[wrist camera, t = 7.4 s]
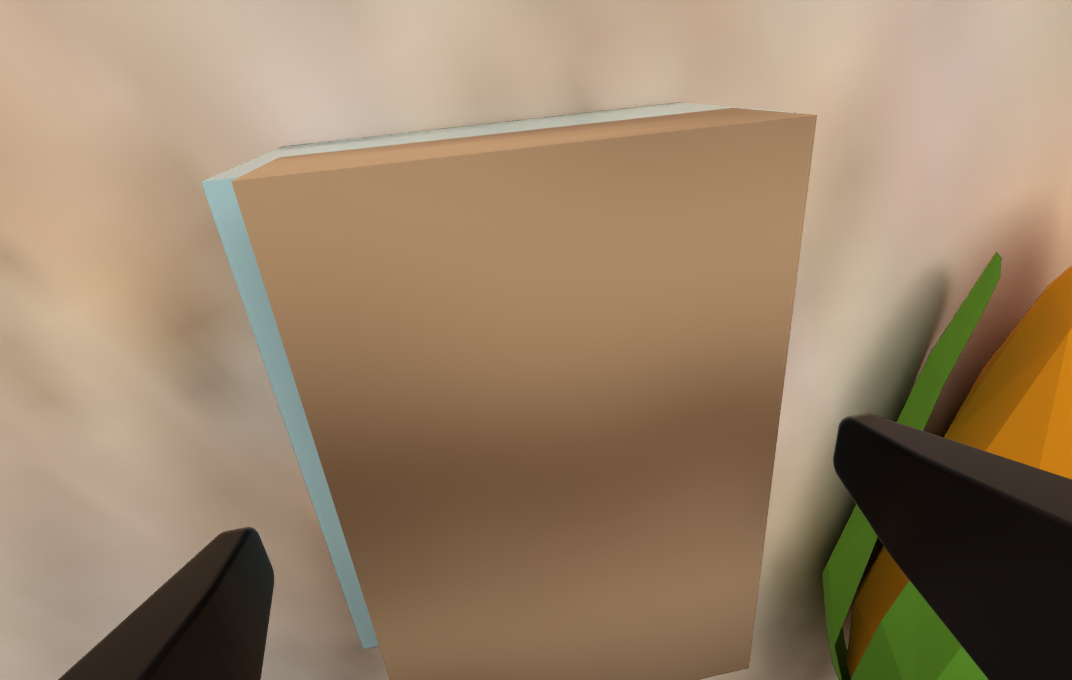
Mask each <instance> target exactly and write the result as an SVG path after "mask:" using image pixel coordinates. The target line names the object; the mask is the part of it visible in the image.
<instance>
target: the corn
mask: <svg viewBox="0 0 1072 680" xmlns="http://www.w3.org/2000/svg"><path fill="white" fill-rule="evenodd" d="M1000 270H1001V257H1000V255H999V254H998V253H997V252H996V253H995V255H994V256H993V258H992V260H991V261H990V263H989V264H988V266H987V267H986V269H985V270H984V272H983V273H982V275H981V276H980V278H979V279H978V281H977V282H976V284H975V285H974V287H973V288H972V290H971V292H970V293H969V295H968V296H967V298H966V299H965V301H964V302H963V304H962V305H961V307H960V308H959V310H958V311H957V313H956V314H955V316H954V317H953V319H952V320H951V322H950V324H949V325H948V327H947V328H946V330H945V331H944V333H943V334H942V336H941V337H940V339H939V340H938V342H937V343H936V345H935V346H934V348H933V349H932V351H931V353H930V355H929V357H928V359H927V361H926V363H925V365H924V367H923V369H922V371H921V373H920V375H919V377H918V379H917V381H916V383H915V385H914V387H913V389H912V391H911V393H910V395H909V397H908V399H907V401H906V403H905V406H904V408H903V410H902V412H901V414H900V416H899V418H898V420H897V423H901V424H904V425H907V426H910V427H913V428H916V429H919V430H922V431H923V430H924V428H925V426H926V423H927V421H928V419H929V417H930V415H931V412H932V410H933V408H934V406H935V403H936V401H937V399H938V397H939V394H940V392H941V390H942V388H943V386H944V384H945V382H946V380H947V378H948V376H949V374H950V372H951V371H952V369H953V367H954V365H955V363H956V361H957V360H958V358H959V356H960V354H961V352H962V350H963V348H964V347H965V345H966V343H967V341H968V339H969V337H970V336H971V334H972V332H973V330H974V328H975V326H976V324H977V323H978V321H979V319H980V317H981V315H982V313H983V311H984V309H985V307H986V305H987V303H988V301H989V299H990V297H991V295H992V293H993V291H994V289H995V286H996V284H997V282H998V280H999V278H1000ZM944 438H947V439H950V440H953V441H956V442H959V443H962V444H965V445H968V446H971V447H974V448H977V449H980V450H983V451H986V452H990V453H993V454H996V455H999V456H1002V457H1005V458H1008V459H1011V460H1014V461H1017V462H1020V463H1023V464H1026V465H1029V466H1032V467H1036V468H1039V469H1042V470H1045V471H1048V472H1051V473H1054V474H1057V475H1060V476H1063V477H1066V478H1069V479H1072V266H1071V267H1069V268H1068V269H1067V270H1066V271H1065V272H1064V273H1062V274H1061V275H1060V276H1059V277H1058V278H1057V279H1056V280H1054V281H1053V282H1052V283H1051V284H1050V285H1049V286H1048V287H1047V288H1046V289H1045V290H1044V292H1043V293H1042V294H1041V295H1040V297H1039V298H1038V299H1037V300H1036V302H1035V303H1034V304H1033V306H1032V307H1031V308H1030V309H1029V311H1028V312H1027V313H1026V314H1025V316H1024V317H1023V318H1022V319H1021V321H1020V322H1019V323H1018V324H1017V326H1016V327H1015V328H1014V329H1013V331H1012V332H1011V333H1010V335H1009V336H1008V337H1007V338H1006V340H1005V341H1004V342H1003V343H1002V345H1001V346H1000V347H999V348H998V350H997V351H996V352H995V353H994V355H993V356H992V357H991V359H990V360H989V361H988V362H987V364H986V365H985V366H984V367H983V369H982V371H981V373H980V374H979V376H978V378H977V380H976V381H975V383H974V385H973V387H972V388H971V390H970V392H969V394H968V395H967V397H966V399H965V401H964V402H963V404H962V406H961V408H960V410H959V411H958V413H957V415H956V417H955V418H954V420H953V422H952V424H951V425H950V427H949V429H948V431H947V432H946V434H945V436H944ZM877 537H878V536H877V535H876V533H875V532H874V530H873V529H872V527H871V526H870V524H869V523H868V521H867V520H866V518H865V516H864V515H863V513H862V512H861V510H860V509H859V507H858V506H857V504H856V505H855V508H854V510H853V512H852V514H851V516H850V518H849V520H848V522H847V524H846V526H845V528H844V530H843V532H842V534H841V536H840V538H839V540H838V542H837V544H836V546H835V548H834V550H833V552H832V554H831V556H830V559H829V561H828V563H827V565H826V567H825V569H824V571H823V573H822V577H823V591H824V604H825V617H826V630H827V636H828V642H829V647H830V653H831V659H832V664H833V666H834V669H835V671H836V674H837V676H838V679H839V680H988V679H987V677H986V676H985V675H984V674H983V672H982V671H981V670H980V669H979V667H978V666H977V665H976V664H975V662H974V661H973V660H972V659H971V657H970V656H969V655H968V654H967V652H966V651H965V650H964V648H963V647H962V646H961V645H960V643H959V642H958V641H957V640H956V638H955V637H954V636H953V635H952V633H951V632H950V631H949V630H948V628H947V627H946V626H945V625H944V623H943V622H942V621H941V620H940V618H939V617H938V616H937V614H936V613H935V612H934V611H933V609H932V608H931V607H930V606H929V604H928V603H927V602H926V601H925V599H924V598H923V597H922V596H921V594H920V593H919V592H918V591H917V589H916V588H915V587H914V585H913V584H912V583H911V582H910V580H909V579H908V578H907V577H906V575H905V574H904V573H903V572H902V570H901V569H900V568H899V566H898V565H897V564H896V562H895V561H894V560H893V558H892V557H891V556H890V554H889V553H888V551H887V550H886V548H885V547H884V545H883V547H882V549H881V551H880V552H879V554H878V556H877V558H876V560H875V561H874V563H873V565H872V567H871V569H870V570H869V572H868V574H867V576H866V578H865V579H864V581H863V583H862V585H861V587H860V588H859V590H858V592H857V594H856V596H855V597H854V595H855V593H856V590H857V588H858V585H859V583H860V580H861V578H862V575H863V573H864V570H865V568H866V565H867V563H868V560H869V558H870V555H871V553H872V550H873V547H874V545H875V542H876V540H877ZM853 598H854V604H853V612H852V620H851V628H850V637H849V645H848V650H847V648H846V645H845V641H844V634H843V628H842V625H843V623H844V620H845V618H846V615H847V613H848V610H849V608H850V605H851V603H852V600H853Z"/></svg>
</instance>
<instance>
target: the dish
mask: <svg viewBox="0 0 1072 680" xmlns="http://www.w3.org/2000/svg"><path fill="white" fill-rule="evenodd" d="M727 108H739V107H727V106H716V105H704V104H692V103H681V102H678V103H669V104H660V105H651V106H642V107H633V108H624V109H615V110H606V111H597V112H588V113H579V114H570V115H561V116H552V117H543V118H534V119H525V120H516V121H507V122H498V123H489V124H480V125H471V126H462V127H453V128H444V129H435V130H426V131H417V132H408V133H399V134H390V135H381V136H372V137H364V138H355V139H346V140H337V141H328V142H319V143H310V144H301V145H292V146H283V147H280V148H278V149H276V150H273V151H271V152H269V153H266V154H264V155H262V156H259V157H257V158H255V159H252V160H250V161H248V162H245V163H243V164H241V165H239V166H236V167H234V168H232V169H229V170H227V171H225V172H222V173H220V174H218V175H215V176H213V177H211V178H208V179H206V180H204V181H202V182H201V183H202V186H203V189H204V191H205V194H206V197H207V200H208V203H209V206H210V209H211V212H212V215H213V217H214V220H215V223H216V226H217V229H218V232H219V235H220V238H221V241H222V243H223V246H224V249H225V252H226V255H227V258H228V261H229V264H230V267H231V269H232V272H233V275H234V278H235V281H236V284H237V287H238V290H239V293H240V295H241V298H242V301H243V304H244V307H245V310H246V313H247V316H248V319H249V321H250V324H251V327H252V330H253V333H254V336H255V339H256V342H257V345H258V347H259V350H260V353H261V356H262V359H263V362H264V365H265V368H266V371H267V373H268V376H269V379H270V382H271V385H272V388H273V391H274V394H275V397H276V399H277V402H278V405H279V408H280V411H281V414H282V417H283V420H284V423H285V425H286V428H287V431H288V434H289V437H290V440H291V443H292V446H293V449H294V451H295V454H296V457H297V460H298V463H299V466H300V469H301V472H302V475H303V477H304V480H305V483H306V486H307V489H308V492H309V495H310V498H311V501H312V503H313V506H314V509H315V512H316V515H317V518H318V521H319V524H320V527H321V529H322V532H323V535H324V538H325V541H326V544H327V547H328V550H329V553H330V555H331V558H332V561H333V564H334V567H335V570H336V573H337V576H338V579H339V581H340V584H341V587H342V590H343V593H344V596H345V599H346V602H347V605H348V607H349V610H350V613H351V616H352V619H353V622H354V625H355V628H356V631H357V633H358V636H359V639H360V642H361V645H362V648H363V649H367V648H372V647H376V646H379V644H378V641H377V638H376V634H375V631H374V628H373V625H372V622H371V619H370V616H369V612H368V609H367V606H366V603H365V600H364V597H363V594H362V590H361V587H360V584H359V581H358V578H357V575H356V572H355V568H354V565H353V562H352V559H351V556H350V553H349V550H348V547H347V543H346V540H345V537H344V534H343V531H342V528H341V525H340V521H339V518H338V515H337V512H336V509H335V506H334V503H333V499H332V496H331V493H330V490H329V487H328V484H327V481H326V478H325V474H324V471H323V468H322V465H321V462H320V459H319V456H318V452H317V449H316V446H315V443H314V440H313V437H312V434H311V430H310V427H309V424H308V421H307V418H306V415H305V412H304V409H303V405H302V402H301V399H300V396H299V393H298V390H297V387H296V383H295V380H294V377H293V374H292V371H291V368H290V365H289V361H288V358H287V355H286V352H285V349H284V346H283V343H282V339H281V336H280V333H279V330H278V327H277V324H276V321H275V318H274V314H273V311H272V308H271V305H270V302H269V299H268V296H267V292H266V289H265V286H264V283H263V280H262V277H261V274H260V270H259V267H258V264H257V261H256V258H255V255H254V252H253V249H252V245H251V242H250V239H249V236H248V233H247V230H246V227H245V223H244V220H243V217H242V214H241V211H240V208H239V205H238V201H237V198H236V195H235V192H234V189H233V186H232V183H231V181H232V180H235V179H237V178H239V177H241V176H243V175H245V174H247V173H249V172H251V171H253V170H255V169H257V168H259V167H261V166H263V165H265V164H267V163H269V162H271V161H273V160H275V159H277V158H279V157H287V156H297V155H306V154H315V153H324V152H333V151H342V150H352V149H361V148H370V147H379V146H388V145H397V144H407V143H416V142H425V141H434V140H443V139H452V138H462V137H471V136H480V135H489V134H498V133H507V132H517V131H526V130H535V129H544V128H553V127H562V126H572V125H581V124H590V123H599V122H608V121H617V120H627V119H636V118H645V117H654V116H663V115H672V114H682V113H691V112H700V111H709V110H718V109H727ZM741 109H751V108H741ZM752 110H762V109H752ZM763 111H774V110H763ZM775 112H786V111H775ZM786 113H797V112H786Z"/></svg>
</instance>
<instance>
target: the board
mask: <svg viewBox="0 0 1072 680" xmlns="http://www.w3.org/2000/svg"><path fill="white" fill-rule="evenodd" d="M816 118H817V115H809V114H797V113H786V112H775V111H763V110H752V109H741V108H727V109H718V110H709V111H700V112H691V113H682V114H672V115H663V116H654V117H645V118H636V119H627V120H617V121H608V122H599V123H590V124H581V125H572V126H562V127H553V128H544V129H535V130H526V131H517V132H507V133H498V134H489V135H480V136H471V137H462V138H452V139H443V140H434V141H425V142H416V143H407V144H397V145H388V146H379V147H370V148H361V149H352V150H342V151H333V152H324V153H315V154H306V155H297V156H287V157H279V158H277V159H275V160H273V161H271V162H269V163H267V164H265V165H263V166H261V167H259V168H257V169H255V170H253V171H251V172H249V173H247V174H245V175H243V176H241V177H239V178H237V179H235V180H232V181H231V183H232V186H233V189H234V192H235V195H236V198H237V201H238V205H239V208H240V211H241V214H242V217H243V220H244V223H245V227H246V230H247V233H248V236H249V239H250V242H251V245H252V249H253V252H254V255H255V258H256V261H257V264H258V267H259V270H260V274H261V277H262V280H263V283H264V286H265V289H266V292H267V296H268V299H269V302H270V305H271V308H272V311H273V314H274V318H275V321H276V324H277V327H278V330H279V333H280V336H281V339H282V343H283V346H284V349H285V352H286V355H287V358H288V361H289V365H290V368H291V371H292V374H293V377H294V380H295V383H296V387H297V390H298V393H299V396H300V399H301V402H302V405H303V409H304V412H305V415H306V418H307V421H308V424H309V427H310V430H311V434H312V437H313V440H314V443H315V446H316V449H317V452H318V456H319V459H320V462H321V465H322V468H323V471H324V474H325V478H326V481H327V484H328V487H329V490H330V493H331V496H332V499H333V503H334V506H335V509H336V512H337V515H338V518H339V521H340V525H341V528H342V531H343V534H344V537H345V540H346V543H347V547H348V550H349V553H350V556H351V559H352V562H353V565H354V568H355V572H356V575H357V578H358V581H359V584H360V587H361V590H362V594H363V597H364V600H365V603H366V606H367V609H368V612H369V616H370V619H371V622H372V625H373V628H374V631H375V634H376V638H377V641H378V644H379V647H380V650H381V653H382V656H383V659H384V663H385V666H386V669H387V672H388V675H389V678H390V680H699V679H703V678H708V677H712V676H716V675H721V674H725V673H729V672H734V671H738V670H742V669H747V668H749V661H750V653H751V645H752V637H753V629H754V621H755V612H756V604H757V596H758V588H759V580H760V572H761V564H762V556H763V548H764V540H765V531H766V523H767V515H768V507H769V499H770V491H771V483H772V475H773V467H774V459H775V450H776V442H777V434H778V426H779V418H780V410H781V402H782V394H783V386H784V378H785V369H786V361H787V353H788V345H789V337H790V329H791V321H792V313H793V305H794V296H795V288H796V280H797V272H798V264H799V256H800V248H801V240H802V232H803V224H804V215H805V207H806V199H807V191H808V183H809V175H810V167H811V159H812V151H813V143H814V134H815V126H816Z"/></svg>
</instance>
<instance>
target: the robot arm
mask: <svg viewBox="0 0 1072 680" xmlns="http://www.w3.org/2000/svg"><path fill="white" fill-rule="evenodd" d="M833 462H834V468H835V471H836V473H837V475H838V477H839V478H840V480H841V481H842V483H843V484H844V486H845V487H846V489H847V490H848V492H849V493H850V495H851V497H852V498H853V500H854V501H855V503H856V504H857V506H858V507H859V509H860V510H861V512H862V513H863V515H864V516H865V518H866V520H867V521H868V523H869V524H870V526H871V527H872V529H873V530H874V532H875V533H876V535H877V536H878V538H879V540H880V541H881V543H882V544H883V545H884V547H885V548H886V550H887V551H888V553H889V554H890V556H891V557H892V558H893V560H894V561H895V562H896V564H897V565H898V566H899V568H900V569H901V570H902V572H903V573H904V574H905V575H906V577H907V578H908V579H909V580H910V582H911V583H912V584H913V585H914V587H915V588H916V589H917V591H918V592H919V593H920V594H921V596H922V597H923V598H924V599H925V601H926V602H927V603H928V604H929V606H930V607H931V608H932V609H933V611H934V612H935V613H936V614H937V616H938V617H939V618H940V620H941V621H942V622H943V623H944V625H945V626H946V627H947V628H948V630H949V631H950V632H951V633H952V635H953V636H954V637H955V638H956V640H957V641H958V642H959V643H960V645H961V646H962V647H963V648H964V650H965V651H966V652H967V654H968V655H969V656H970V657H971V659H972V660H973V661H974V662H975V664H976V665H977V666H978V667H979V669H980V670H981V671H982V672H983V674H984V675H985V676H986V677H987V679H988V680H1072V479H1069V478H1066V477H1063V476H1060V475H1057V474H1054V473H1051V472H1048V471H1045V470H1042V469H1039V468H1036V467H1032V466H1029V465H1026V464H1023V463H1020V462H1017V461H1014V460H1011V459H1008V458H1005V457H1002V456H999V455H996V454H993V453H990V452H986V451H983V450H980V449H977V448H974V447H971V446H968V445H965V444H962V443H959V442H956V441H953V440H950V439H947V438H943V437H940V436H937V435H934V434H931V433H928V432H925V431H922V430H919V429H916V428H913V427H910V426H907V425H904V424H901V423H897V422H894V421H891V420H888V419H885V418H882V417H879V416H876V415H873V414H860V415H855V416H849V417H846V418H844V419H843V420H842V421H841V422H840V424H839V428H838V434H837V440H836V445H835V451H834V457H833ZM273 587H274V573H273V568H272V565H271V563H270V560H269V558H268V556H267V553H266V551H265V548H264V546H263V544H262V541H261V539H260V536H259V534H258V532H257V531H256V530H255V529H254V528H251V527H246V528H241V529H235V530H230V531H225V532H223V533H221V534H219V535H218V536H217V537H216V538H215V539H214V540H212V541H211V542H210V543H209V544H208V545H207V546H206V547H205V548H204V549H202V550H201V551H200V552H199V553H198V554H197V555H196V556H195V557H194V558H192V559H191V560H190V561H189V562H188V563H187V564H186V565H185V566H184V567H182V568H181V569H180V570H179V571H178V572H177V573H176V574H175V575H174V576H172V577H171V578H170V579H169V580H168V581H167V582H166V583H165V584H164V585H163V586H161V587H160V588H159V589H158V590H157V591H156V592H155V593H154V594H153V595H151V596H150V597H149V598H148V599H147V600H146V601H145V602H144V603H143V604H141V605H140V606H139V607H138V608H137V609H136V610H135V611H134V612H133V613H131V614H130V615H129V616H128V617H127V618H126V619H125V620H124V621H123V622H121V623H120V624H119V625H118V626H117V627H116V628H115V629H114V630H113V631H112V632H110V633H109V634H108V635H107V636H106V637H105V638H104V639H103V640H102V641H100V642H99V643H98V644H97V645H96V646H95V647H94V648H93V649H92V650H90V651H89V652H88V653H87V654H86V655H85V656H84V657H83V658H82V659H80V660H79V661H78V662H77V663H76V664H75V665H74V666H73V667H72V668H70V669H69V670H68V671H67V672H66V673H65V674H64V675H63V676H62V677H61V678H59V679H58V680H260V679H261V673H262V666H263V658H264V651H265V644H266V637H267V630H268V623H269V616H270V609H271V602H272V595H273Z"/></svg>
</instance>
